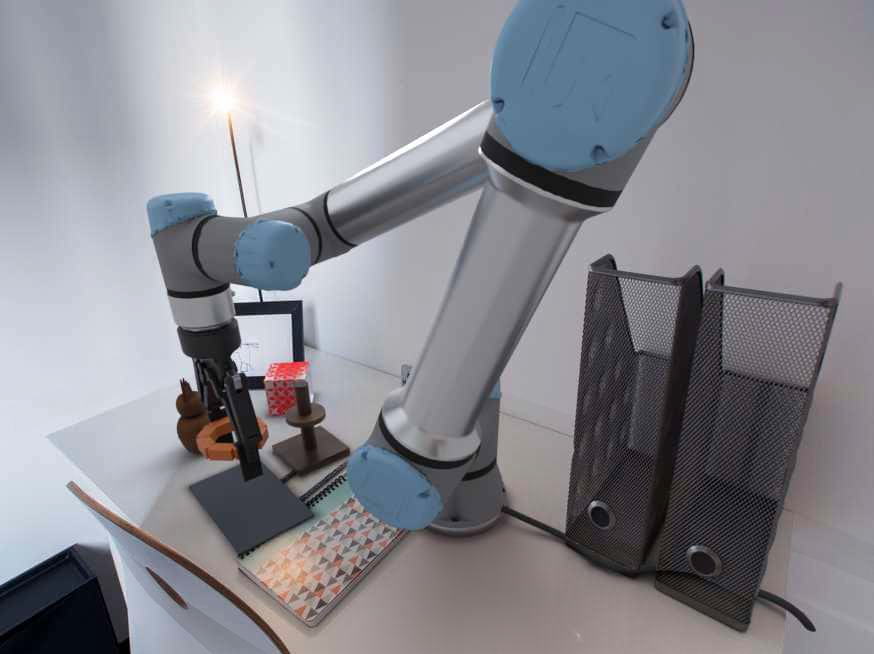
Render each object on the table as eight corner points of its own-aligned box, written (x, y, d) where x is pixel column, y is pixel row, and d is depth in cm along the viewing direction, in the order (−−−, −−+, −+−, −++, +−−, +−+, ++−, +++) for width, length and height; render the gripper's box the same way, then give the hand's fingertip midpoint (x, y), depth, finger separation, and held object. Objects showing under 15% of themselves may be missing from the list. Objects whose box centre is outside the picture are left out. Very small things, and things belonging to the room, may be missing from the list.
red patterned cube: (277, 396, 113) (271, 363, 109) (314, 394, 113) (309, 361, 110) (270, 415, 106) (263, 381, 102) (309, 413, 107) (304, 378, 103)
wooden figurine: (207, 460, 93) (186, 385, 86) (177, 457, 94) (155, 382, 87) (226, 439, 99) (208, 367, 92) (198, 436, 100) (179, 365, 93)
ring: (278, 443, 77) (276, 433, 76) (215, 469, 72) (212, 458, 71) (250, 418, 84) (248, 408, 83) (191, 440, 78) (188, 430, 78)
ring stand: (350, 454, 94) (342, 384, 87) (300, 477, 88) (287, 405, 81) (321, 431, 101) (311, 365, 94) (272, 452, 95) (259, 383, 88)
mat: (315, 516, 80) (314, 514, 80) (239, 555, 73) (239, 553, 73) (257, 458, 93) (256, 456, 93) (189, 487, 87) (188, 485, 87)
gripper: (272, 338, 63) (297, 485, 74) (203, 294, 78) (233, 423, 89) (210, 355, 59) (246, 509, 70) (150, 306, 74) (188, 440, 85)
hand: (238, 461), depth 80 cm, fingers closed on ring, 9 cm apart
